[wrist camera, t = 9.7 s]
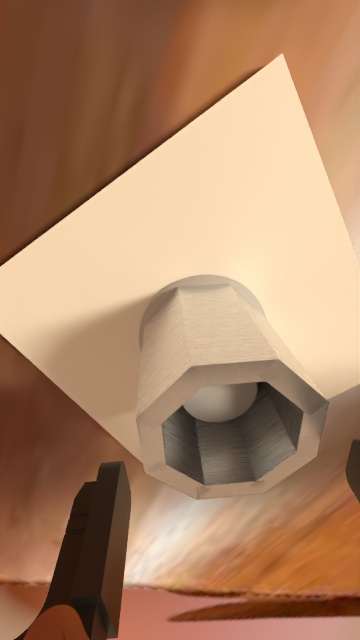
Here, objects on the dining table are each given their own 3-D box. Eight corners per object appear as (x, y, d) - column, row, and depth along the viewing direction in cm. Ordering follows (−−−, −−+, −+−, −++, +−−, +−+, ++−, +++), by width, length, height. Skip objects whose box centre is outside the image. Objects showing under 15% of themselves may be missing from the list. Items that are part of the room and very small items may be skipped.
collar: (265, 280, 15) (339, 353, 9) (257, 380, 18) (309, 488, 12) (140, 289, 15) (128, 371, 9) (152, 388, 18) (149, 504, 12)
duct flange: (385, 357, 20) (471, 426, 14) (161, 469, 23) (162, 559, 18) (273, 62, 12) (362, -26, 7) (-29, 290, 16) (-126, 349, 10)
